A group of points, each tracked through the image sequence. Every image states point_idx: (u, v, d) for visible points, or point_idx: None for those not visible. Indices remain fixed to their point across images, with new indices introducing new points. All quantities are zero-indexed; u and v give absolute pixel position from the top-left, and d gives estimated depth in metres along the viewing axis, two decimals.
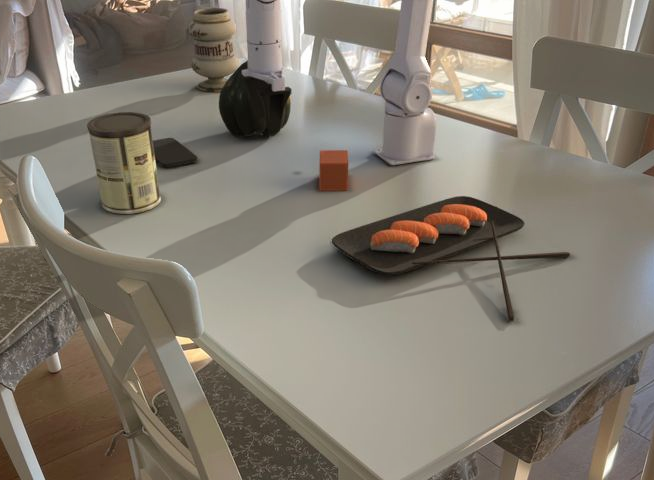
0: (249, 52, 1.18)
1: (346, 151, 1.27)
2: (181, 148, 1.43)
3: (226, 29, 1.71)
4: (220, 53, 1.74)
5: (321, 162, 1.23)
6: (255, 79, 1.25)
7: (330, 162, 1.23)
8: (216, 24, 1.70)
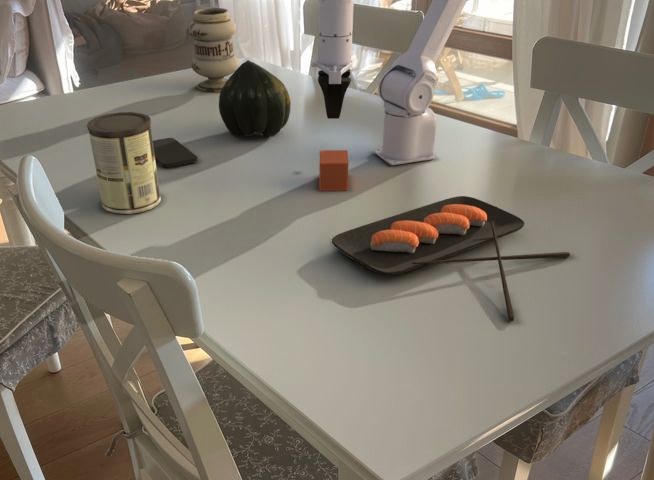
0: (318, 43, 1.20)
1: (346, 151, 1.27)
2: (181, 148, 1.43)
3: (226, 29, 1.71)
4: (220, 53, 1.74)
5: (321, 162, 1.23)
6: None
7: (330, 162, 1.23)
8: (216, 24, 1.70)
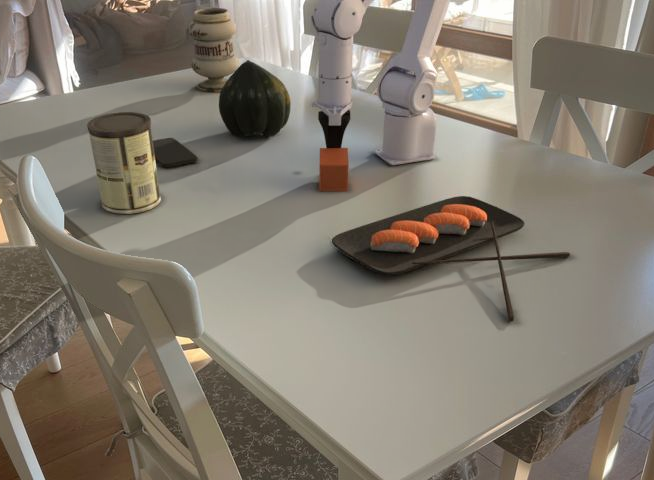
0: (318, 84, 1.21)
1: (346, 149, 1.26)
2: (181, 148, 1.43)
3: (226, 29, 1.71)
4: (220, 53, 1.74)
5: (321, 163, 1.23)
6: None
7: (330, 163, 1.23)
8: (216, 24, 1.70)
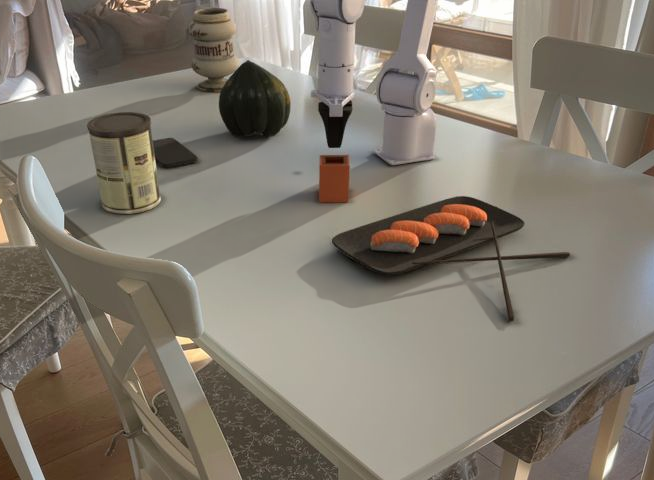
0: (318, 73, 1.14)
1: (348, 169, 1.18)
2: (181, 148, 1.43)
3: (226, 29, 1.71)
4: (220, 53, 1.74)
5: (321, 199, 1.21)
6: None
7: (330, 199, 1.21)
8: (216, 24, 1.70)
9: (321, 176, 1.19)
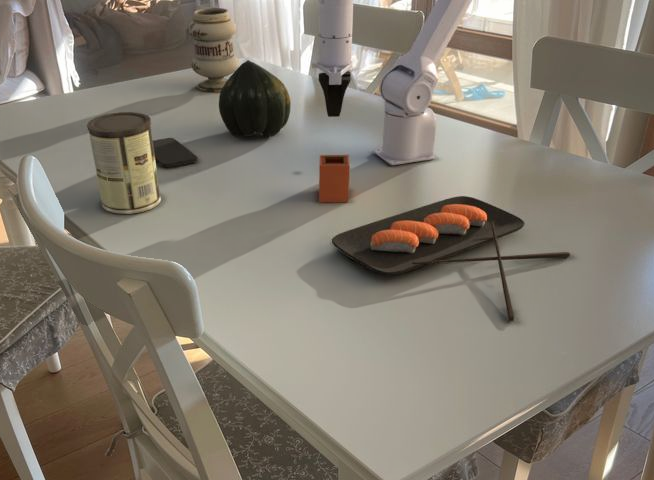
0: None
1: (348, 169, 1.18)
2: (181, 148, 1.43)
3: (226, 29, 1.71)
4: (220, 53, 1.74)
5: (321, 199, 1.21)
6: None
7: (330, 199, 1.21)
8: (216, 24, 1.70)
9: (321, 176, 1.19)
